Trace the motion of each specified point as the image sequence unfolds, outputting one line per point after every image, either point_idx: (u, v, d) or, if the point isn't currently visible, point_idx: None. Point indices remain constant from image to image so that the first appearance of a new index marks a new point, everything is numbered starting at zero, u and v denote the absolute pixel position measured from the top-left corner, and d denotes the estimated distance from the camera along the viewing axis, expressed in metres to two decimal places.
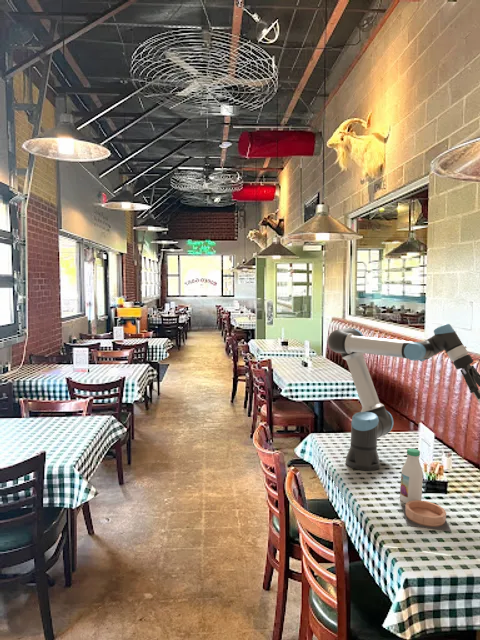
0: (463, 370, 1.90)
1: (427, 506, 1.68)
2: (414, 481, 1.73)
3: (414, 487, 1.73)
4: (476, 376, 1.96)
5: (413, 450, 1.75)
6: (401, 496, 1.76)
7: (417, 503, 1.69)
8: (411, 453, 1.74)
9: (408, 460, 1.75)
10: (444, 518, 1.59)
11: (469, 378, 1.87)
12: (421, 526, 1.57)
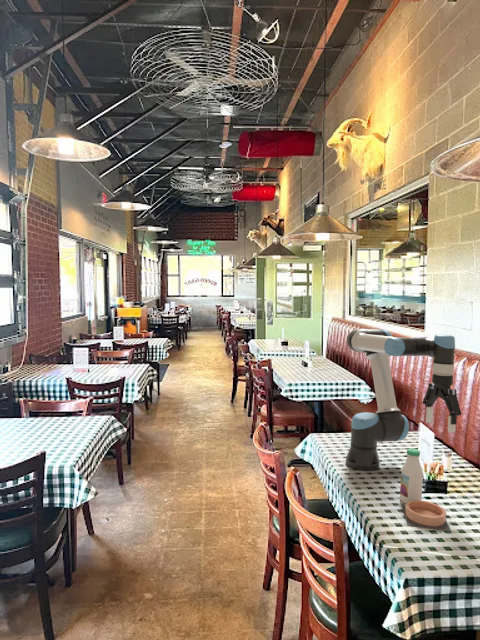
0: (453, 391, 1.76)
1: (427, 506, 1.68)
2: (414, 481, 1.73)
3: (414, 487, 1.73)
4: (438, 396, 1.86)
5: (413, 450, 1.75)
6: (401, 496, 1.76)
7: (417, 503, 1.69)
8: (411, 453, 1.74)
9: (408, 460, 1.75)
10: (444, 518, 1.59)
11: (456, 402, 1.75)
12: (421, 526, 1.57)
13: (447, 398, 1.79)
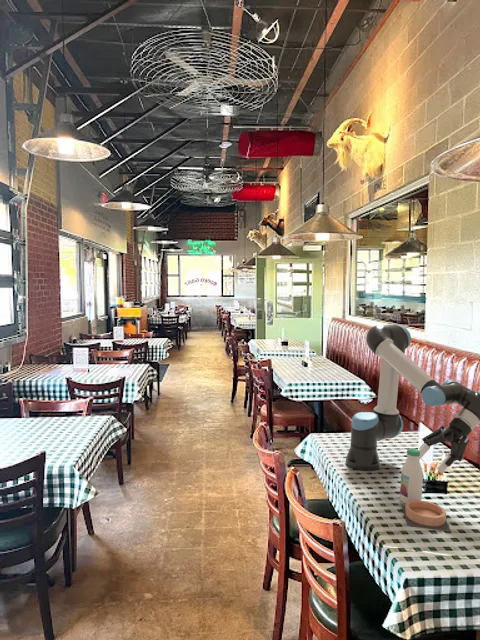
0: (467, 439, 1.71)
1: (427, 506, 1.68)
2: (414, 481, 1.73)
3: (414, 487, 1.73)
4: (443, 440, 1.80)
5: (413, 450, 1.75)
6: (401, 496, 1.76)
7: (417, 503, 1.69)
8: (411, 453, 1.74)
9: (408, 460, 1.75)
10: (444, 518, 1.59)
11: (463, 449, 1.70)
12: (421, 526, 1.57)
13: (455, 442, 1.73)
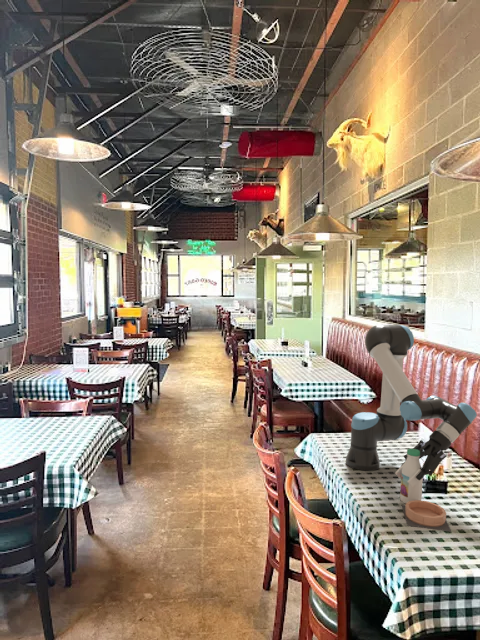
0: (443, 455, 1.71)
1: (427, 506, 1.68)
2: None
3: (414, 487, 1.72)
4: (424, 454, 1.79)
5: (413, 450, 1.75)
6: (401, 496, 1.76)
7: (417, 503, 1.69)
8: (411, 453, 1.74)
9: (408, 460, 1.75)
10: (444, 518, 1.59)
11: (437, 464, 1.70)
12: (421, 526, 1.57)
13: (431, 456, 1.74)
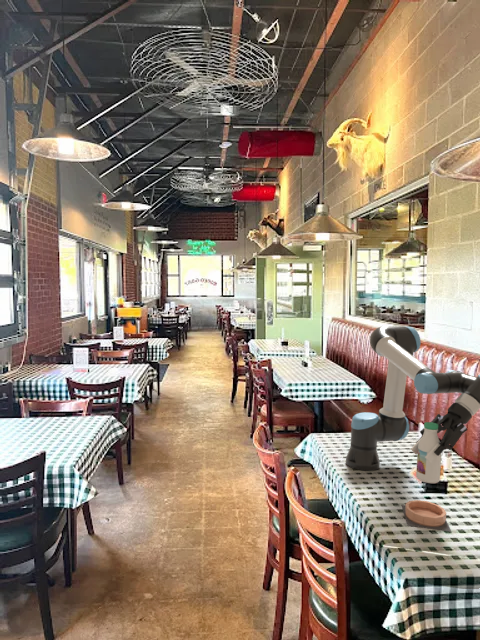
0: (464, 428, 1.57)
1: (427, 506, 1.68)
2: None
3: (432, 463, 1.58)
4: (442, 429, 1.65)
5: (431, 423, 1.61)
6: (418, 473, 1.62)
7: (417, 503, 1.69)
8: (429, 426, 1.60)
9: (425, 434, 1.61)
10: (444, 518, 1.59)
11: (457, 438, 1.56)
12: (421, 526, 1.57)
13: (451, 430, 1.60)
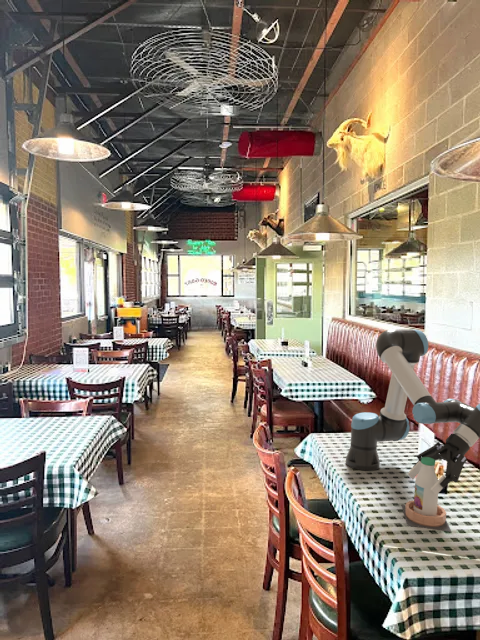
0: (464, 458, 1.57)
1: None
2: (429, 492, 1.59)
3: (429, 499, 1.59)
4: (439, 458, 1.67)
5: (428, 459, 1.62)
6: (415, 509, 1.63)
7: None
8: (426, 462, 1.61)
9: (422, 470, 1.62)
10: (444, 518, 1.59)
11: (460, 469, 1.56)
12: (421, 526, 1.57)
13: (451, 461, 1.60)
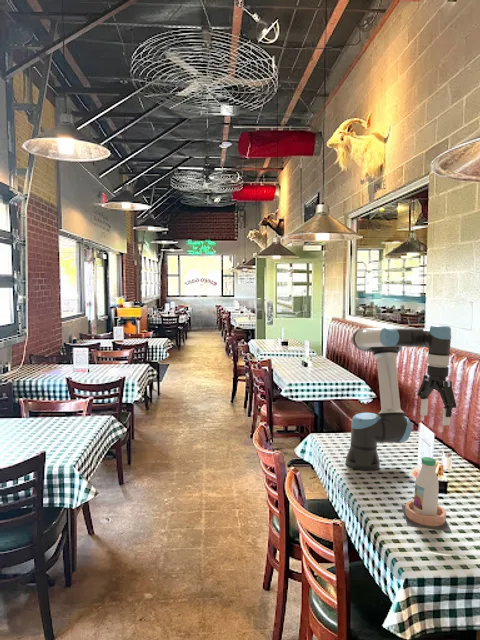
0: (449, 382, 1.71)
1: None
2: (430, 492, 1.59)
3: (429, 499, 1.59)
4: (433, 388, 1.82)
5: (428, 459, 1.62)
6: (415, 508, 1.63)
7: None
8: (426, 462, 1.61)
9: (423, 470, 1.62)
10: (444, 518, 1.59)
11: (452, 394, 1.71)
12: (421, 526, 1.57)
13: (442, 390, 1.74)
